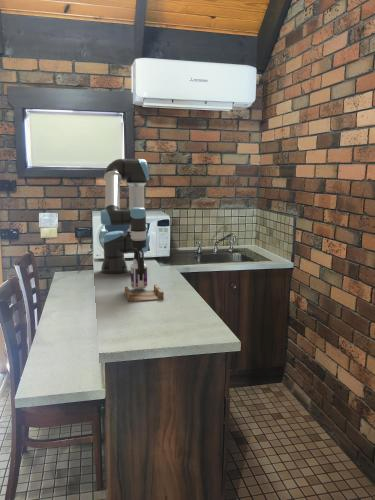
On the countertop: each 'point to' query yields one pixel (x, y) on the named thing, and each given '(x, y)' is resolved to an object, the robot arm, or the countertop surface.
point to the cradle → (144, 295)
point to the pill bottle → (135, 276)
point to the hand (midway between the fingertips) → (139, 284)
